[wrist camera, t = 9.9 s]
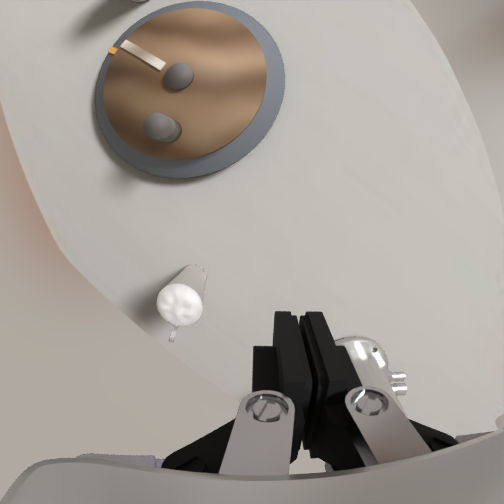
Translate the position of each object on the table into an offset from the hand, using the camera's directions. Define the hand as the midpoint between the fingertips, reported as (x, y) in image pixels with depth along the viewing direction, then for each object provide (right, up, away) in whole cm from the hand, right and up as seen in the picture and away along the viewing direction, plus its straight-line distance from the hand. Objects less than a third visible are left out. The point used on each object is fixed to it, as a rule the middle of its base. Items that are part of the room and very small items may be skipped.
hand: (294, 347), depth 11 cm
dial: (-9, +22, +18) cm, 30 cm away
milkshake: (-9, 0, +26) cm, 28 cm away
